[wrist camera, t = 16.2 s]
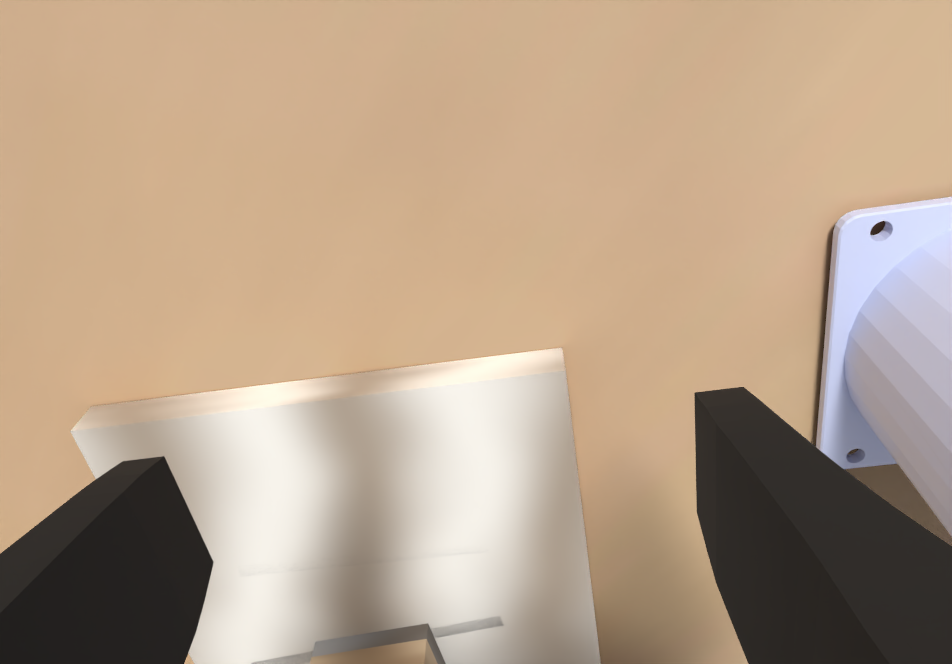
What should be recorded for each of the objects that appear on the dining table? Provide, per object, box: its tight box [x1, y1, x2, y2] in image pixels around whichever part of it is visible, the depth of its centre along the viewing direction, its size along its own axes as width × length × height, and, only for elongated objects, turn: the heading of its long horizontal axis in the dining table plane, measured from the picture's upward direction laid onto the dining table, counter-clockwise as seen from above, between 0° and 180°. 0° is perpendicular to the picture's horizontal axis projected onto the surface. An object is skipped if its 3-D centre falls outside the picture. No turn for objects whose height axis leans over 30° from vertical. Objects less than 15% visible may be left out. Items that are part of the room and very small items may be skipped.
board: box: [70, 348, 601, 664], centre depth 25 cm, size 14×18×1 cm
